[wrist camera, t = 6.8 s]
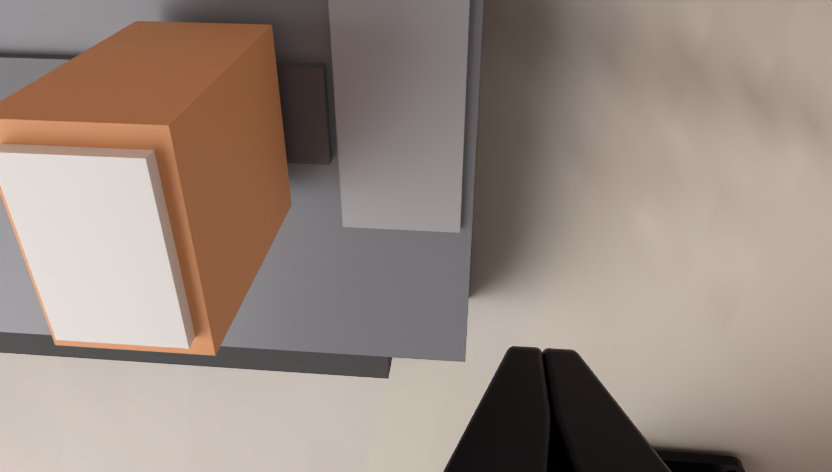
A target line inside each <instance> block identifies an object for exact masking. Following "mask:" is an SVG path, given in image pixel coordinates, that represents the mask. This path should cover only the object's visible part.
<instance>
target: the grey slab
mask: <svg viewBox="0 0 832 472" xmlns="http://www.w3.org/2000/svg"><path fill="white" fill-rule="evenodd" d="M0 352H1V353H16V354H30V355H45V356H60V357H75V358H90V359H105V360H120V361H135V362H150V363H165V364H180V365H194V366H209V367H224V368H239V369H254V370H269V371H284V372H299V373H314V374H329V375H344V376H358V377H373V378H388V377H389V372H390V366H391V361H392V357H382V356H367V355H351V354H336V353H320V352H305V351H289V350H274V349H258V348H243V347H227V346H220V348H219V350H218V352H217V354H216V356H213V355H198V354H183V353H168V352H152V351H137V350H122V349H107V348H92V347H76V346H61V345H55V343H54V340H53V338H52V335H41V334H26V333H10V332H0Z"/></svg>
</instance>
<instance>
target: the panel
mask: <svg viewBox="0 0 832 472" xmlns="http://www.w3.org/2000/svg"><path fill="white" fill-rule="evenodd" d="M483 9H484V0H0V101H2V100H4V99H5V98H7V97H9V96H10V95H12V94H14V93H15V92H17V91H19V90H20V89H22V88H24V87H25V86H27V85H29V84H31V83H32V82H34V81H36V80H37V79H39V78H41V77H42V76H44V75H46V74H47V73H49V72H51V71H52V70H54V69H56V68H57V67H59V66H61V65H63V64H64V63H66V62H68V61H69V60H71V59H73V58H74V57H76V56H78V55H79V54H81V53H83V52H84V51H86V50H88V49H90V48H91V47H93V46H95V45H96V44H98V43H100V42H101V41H103V40H105V39H106V38H108V37H110V36H111V35H113V34H115V33H117V32H118V31H120V30H122V29H123V28H125V27H127V26H128V25H130V24H132V23H133V22H135V21H155V22H193V23H231V24H269V25H272V30H273V39H274V48H275V57H276V66H277V76H278V85H279V94H280V103H281V112H282V121H283V131H284V140H285V149H286V158H287V167H288V176H289V186H290V195H291V204H292V206H291V208H290V209H289V211H288V213H287V215H286V217H285V219H284V221H283V223H282V225H281V227H280V229H279V231H278V233H277V235H276V237H275V239H274V241H273V243H272V245H271V247H270V249H269V251H268V253H267V255H266V257H265V259H264V261H263V263H262V265H261V267H260V269H259V271H258V273H257V275H256V277H255V279H254V281H253V283H252V285H251V287H250V289H249V291H248V293H247V295H246V296H245V298H244V300H243V302H242V304H241V306H240V308H239V310H238V312H237V314H236V316H235V318H234V320H233V322H232V324H231V326H230V328H229V330H228V332H227V334H226V336H225V338H224V340H223V342H222V344H221V346H227V347H243V348H258V349H274V350H289V351H305V352H320V353H336V354H351V355H367V356H382V357H398V358H413V359H429V360H444V361H460V362H465V355H466V336H467V316H468V297H469V278H470V259H471V240H472V220H473V201H474V182H475V163H476V143H477V124H478V105H479V86H480V66H481V47H482V28H483ZM0 332H10V333H26V334H41V335H51V332H50V329H49V327H48V324H47V321H46V318H45V316H44V313H43V310H42V307H41V305H40V302H39V299H38V296H37V294H36V291H35V288H34V285H33V283H32V280H31V277H30V274H29V272H28V269H27V266H26V263H25V261H24V258H23V255H22V252H21V250H20V247H19V244H18V241H17V239H16V236H15V233H14V230H13V228H12V225H11V222H10V219H9V217H8V214H7V211H6V208H5V206H4V203H3V200H2V197H1V195H0Z"/></svg>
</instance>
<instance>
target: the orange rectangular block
mask: <svg viewBox="0 0 832 472" xmlns="http://www.w3.org/2000/svg"><path fill="white" fill-rule="evenodd" d="M0 195H1V197H2V200H3V203H4V206H5V208H6V211H7V214H8V217H9V219H10V222H11V225H12V228H13V230H14V233H15V236H16V239H17V241H18V244H19V247H20V250H21V252H22V255H23V258H24V261H25V263H26V266H27V269H28V272H29V274H30V277H31V280H32V283H33V285H34V288H35V291H36V294H37V296H38V299H39V302H40V305H41V307H42V310H43V313H44V316H45V318H46V321H47V324H48V327H49V329H50V332H51V335H52V338H53V340H54V343H55V345H61V346H76V347H92V348H107V349H122V350H137V351H152V352H168V353H183V354H198V355H213V356H216V354H217V352H218V350H219V348H220V346H221V344H222V342H223V340H224V338H225V336H226V334H227V332H228V330H229V328H230V326H231V324H232V322H233V320H234V318H235V316H236V314H237V312H238V310H239V308H240V306H241V304H242V302H243V300H244V298H245V296H246V295H247V293H248V291H249V289H250V287H251V285H252V283H253V281H254V279H255V277H256V275H257V273H258V271H259V269H260V267H261V265H262V263H263V261H264V259H265V257H266V255H267V253H268V251H269V249H270V247H271V245H272V243H273V241H274V239H275V237H276V235H277V233H278V231H279V229H280V227H281V225H282V223H283V221H284V219H285V217H286V215H287V213H288V211H289V209H290V208H291V206H292V204H291V195H290V186H289V176H288V167H287V158H286V149H285V140H284V131H283V121H282V112H281V103H280V94H279V85H278V76H277V66H276V57H275V48H274V39H273V30H272V25H269V24H231V23H193V22H155V21H135V22H133V23H132V24H130V25H128V26H127V27H125V28H123V29H122V30H120V31H118V32H117V33H115V34H113V35H111V36H110V37H108V38H106V39H105V40H103V41H101V42H100V43H98V44H96V45H95V46H93V47H91V48H90V49H88V50H86V51H84V52H83V53H81V54H79V55H78V56H76V57H74V58H73V59H71V60H69V61H68V62H66V63H64V64H63V65H61V66H59V67H57V68H56V69H54V70H52V71H51V72H49V73H47V74H46V75H44V76H42V77H41V78H39V79H37V80H36V81H34V82H32V83H31V84H29V85H27V86H25V87H24V88H22V89H20V90H19V91H17V92H15V93H14V94H12V95H10V96H9V97H7V98H5V99H4V100H2V101H0Z"/></svg>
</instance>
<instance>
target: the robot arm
mask: <svg viewBox="0 0 832 472" xmlns="http://www.w3.org/2000/svg"><path fill="white" fill-rule="evenodd" d="M443 472H745V470H744V467H743V465H742V462H741V461H740V460H739V459H738V458H736V457H732V456H719V455H705V454H692V453H678V452H664V451H655V450H654V449H653V448H652V447H651V445H650V444H649V443H648V441H647V440H646V439H645V438H644V436H643V435H642V434H641V433H640V431H639V430H638V429H637V428H636V426H635V425H634V424H633V422H632V421H631V420H630V419H629V417H628V416H627V415H626V414H625V412H624V411H623V410H622V408H621V407H620V406H619V405H618V403H617V402H616V401H615V400H614V398H613V397H612V396H611V395H610V393H609V392H608V391H607V389H606V388H605V387H604V386H603V384H602V383H601V382H600V381H599V379H598V378H597V377H596V376H595V374H594V373H593V372H592V370H591V369H590V368H589V367H588V365H587V364H586V363H585V362H584V360H583V359H582V358H581V356H580V355H579V354H578V353H577V352H576V351H574V350H569V349H552V348H547V349H545V350H544V351H543V352H542V351H541V350H540V349H539V348H535V347H519V346H512V347H510V348H509V349H508V350H507V352H506V354H505V356H504V358H503V360H502V362H501V363H500V365H499V367H498V369H497V371H496V373H495V375H494V377H493V379H492V381H491V382H490V384H489V386H488V388H487V390H486V392H485V394H484V396H483V398H482V399H481V401H480V403H479V405H478V407H477V409H476V411H475V413H474V415H473V416H472V418H471V420H470V422H469V424H468V426H467V428H466V430H465V432H464V434H463V435H462V437H461V439H460V441H459V443H458V445H457V447H456V449H455V451H454V452H453V454H452V456H451V458H450V460H449V462H448V464H447V466H446V468H445V469H444V471H443Z"/></svg>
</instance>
